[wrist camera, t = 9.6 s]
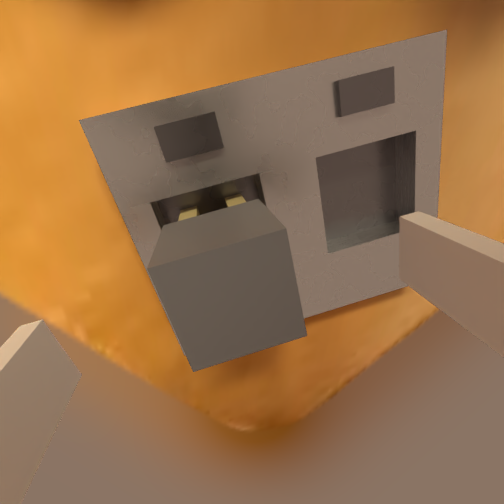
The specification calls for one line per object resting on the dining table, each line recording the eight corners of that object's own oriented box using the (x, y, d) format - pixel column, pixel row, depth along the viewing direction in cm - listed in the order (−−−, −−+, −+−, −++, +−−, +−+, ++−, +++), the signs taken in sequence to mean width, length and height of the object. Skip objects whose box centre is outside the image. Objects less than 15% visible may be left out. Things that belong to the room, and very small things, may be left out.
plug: (171, 204, 18) (146, 268, 10) (245, 184, 18) (286, 228, 10) (195, 270, 20) (193, 371, 12) (261, 251, 21) (307, 335, 12)
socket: (95, 122, 16) (75, 119, 13) (414, 43, 17) (453, 27, 15) (185, 333, 23) (184, 359, 20) (411, 264, 24) (438, 280, 21)
